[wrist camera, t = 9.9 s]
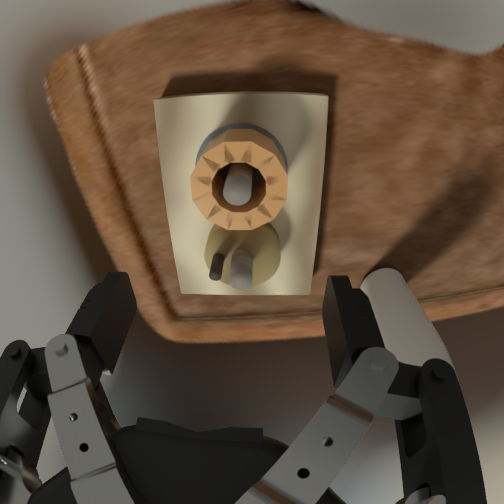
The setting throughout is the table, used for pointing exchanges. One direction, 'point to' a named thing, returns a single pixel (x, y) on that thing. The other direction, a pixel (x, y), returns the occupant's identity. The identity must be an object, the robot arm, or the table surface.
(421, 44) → the table surface
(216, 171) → the gear
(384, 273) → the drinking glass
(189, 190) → the gear board
